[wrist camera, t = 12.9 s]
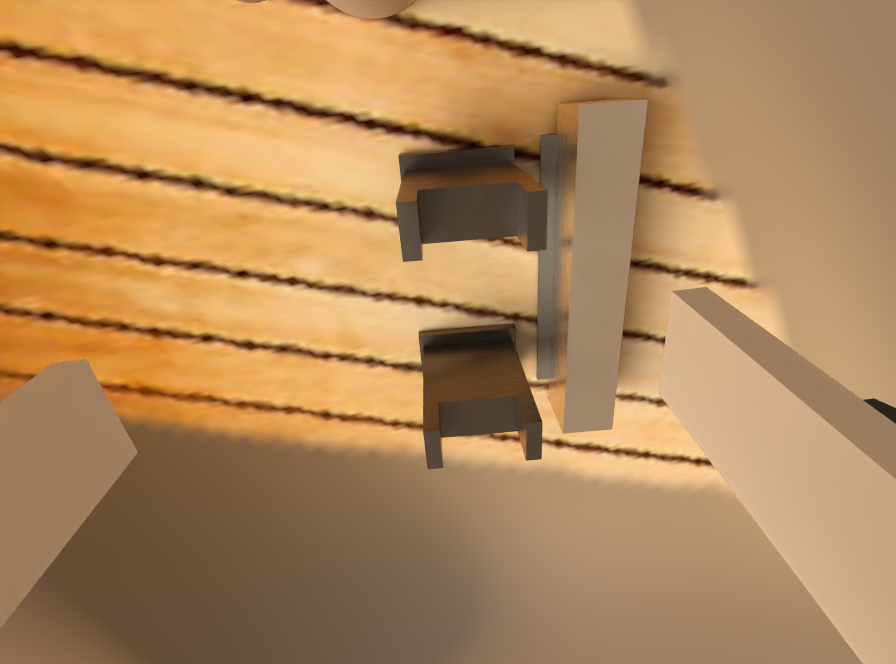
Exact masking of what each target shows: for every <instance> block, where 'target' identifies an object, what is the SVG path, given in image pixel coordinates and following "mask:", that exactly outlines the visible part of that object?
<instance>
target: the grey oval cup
mask: <svg viewBox="0 0 896 664" xmlns="http://www.w3.org/2000/svg"><path fill="white" fill-rule="evenodd" d="M237 1H240V2H245V3H259V2H262V1H265V0H237ZM327 1H328V2H329V3H331V4H332V5H333V6H335V7H336V8H338V9H340V10H341V11H343V12H345V13H347V14H350V15H352V16H356V17H359V18H366V19H380V18H385V17H389V16H392V15H394V14H397V13H399V12H400V11H402V10H404V9H405V8H407V7H408V6H409V5H411V4H412V3H413V2H414V1H415V0H327Z"/></svg>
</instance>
